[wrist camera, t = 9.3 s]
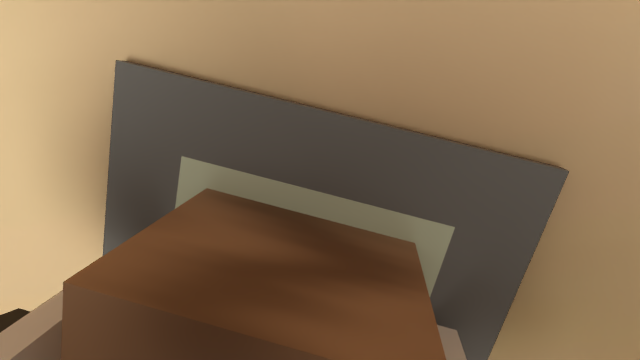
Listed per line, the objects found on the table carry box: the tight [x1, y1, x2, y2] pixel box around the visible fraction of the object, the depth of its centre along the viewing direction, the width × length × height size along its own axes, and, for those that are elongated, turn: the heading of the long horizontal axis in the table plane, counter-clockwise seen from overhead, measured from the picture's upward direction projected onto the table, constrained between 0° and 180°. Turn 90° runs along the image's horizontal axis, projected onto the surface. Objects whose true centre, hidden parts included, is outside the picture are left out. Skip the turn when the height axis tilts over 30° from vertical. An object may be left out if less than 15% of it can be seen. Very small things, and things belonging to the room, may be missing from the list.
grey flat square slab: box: [103, 60, 569, 360], centre depth 13 cm, size 14×14×1 cm
